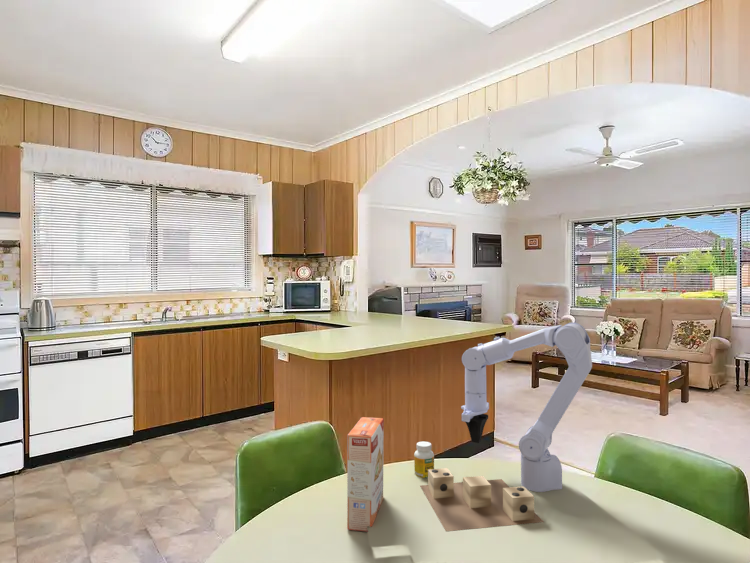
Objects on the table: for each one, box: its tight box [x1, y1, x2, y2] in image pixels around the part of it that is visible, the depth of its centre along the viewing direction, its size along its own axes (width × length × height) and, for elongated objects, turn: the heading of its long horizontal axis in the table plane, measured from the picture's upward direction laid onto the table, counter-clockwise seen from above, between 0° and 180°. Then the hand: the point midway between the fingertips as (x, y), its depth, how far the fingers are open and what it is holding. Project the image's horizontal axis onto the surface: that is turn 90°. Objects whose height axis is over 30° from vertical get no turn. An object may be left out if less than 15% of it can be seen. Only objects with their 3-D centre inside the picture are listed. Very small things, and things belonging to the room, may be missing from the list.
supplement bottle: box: [413, 441, 435, 479], centre depth 127 cm, size 5×5×10 cm
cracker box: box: [346, 416, 385, 533], centre depth 108 cm, size 14×6×21 cm, turn 168°
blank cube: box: [462, 475, 491, 508], centre depth 111 cm, size 5×5×5 cm
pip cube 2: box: [503, 485, 535, 521], centre depth 105 cm, size 5×5×5 cm
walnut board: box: [419, 478, 545, 532], centre depth 111 cm, size 22×22×2 cm
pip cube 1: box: [427, 467, 455, 499], centre depth 116 cm, size 5×5×5 cm
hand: (476, 441), depth 127 cm, fingers closed
